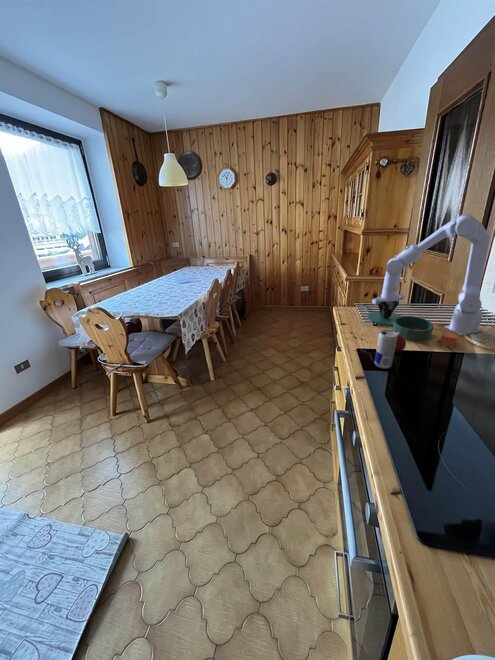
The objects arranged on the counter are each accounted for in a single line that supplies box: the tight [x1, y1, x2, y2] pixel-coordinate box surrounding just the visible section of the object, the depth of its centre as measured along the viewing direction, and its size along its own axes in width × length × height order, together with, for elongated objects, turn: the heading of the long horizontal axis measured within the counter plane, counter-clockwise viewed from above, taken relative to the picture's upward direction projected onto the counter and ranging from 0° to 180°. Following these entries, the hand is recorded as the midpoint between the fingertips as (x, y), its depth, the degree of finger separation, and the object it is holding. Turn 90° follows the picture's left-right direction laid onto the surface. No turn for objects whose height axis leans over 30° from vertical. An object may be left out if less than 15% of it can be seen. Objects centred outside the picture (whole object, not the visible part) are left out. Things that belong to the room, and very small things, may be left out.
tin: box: [391, 315, 434, 342], centre depth 112 cm, size 13×13×5 cm
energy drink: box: [373, 329, 398, 370], centre depth 93 cm, size 5×5×12 cm
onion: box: [394, 332, 407, 353], centre depth 100 cm, size 6×6×8 cm
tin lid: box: [367, 309, 402, 326], centre depth 124 cm, size 14×14×5 cm
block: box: [440, 331, 458, 348], centre depth 103 cm, size 4×4×4 cm
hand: (385, 316), depth 125 cm, fingers closed on tin lid, 2 cm apart
